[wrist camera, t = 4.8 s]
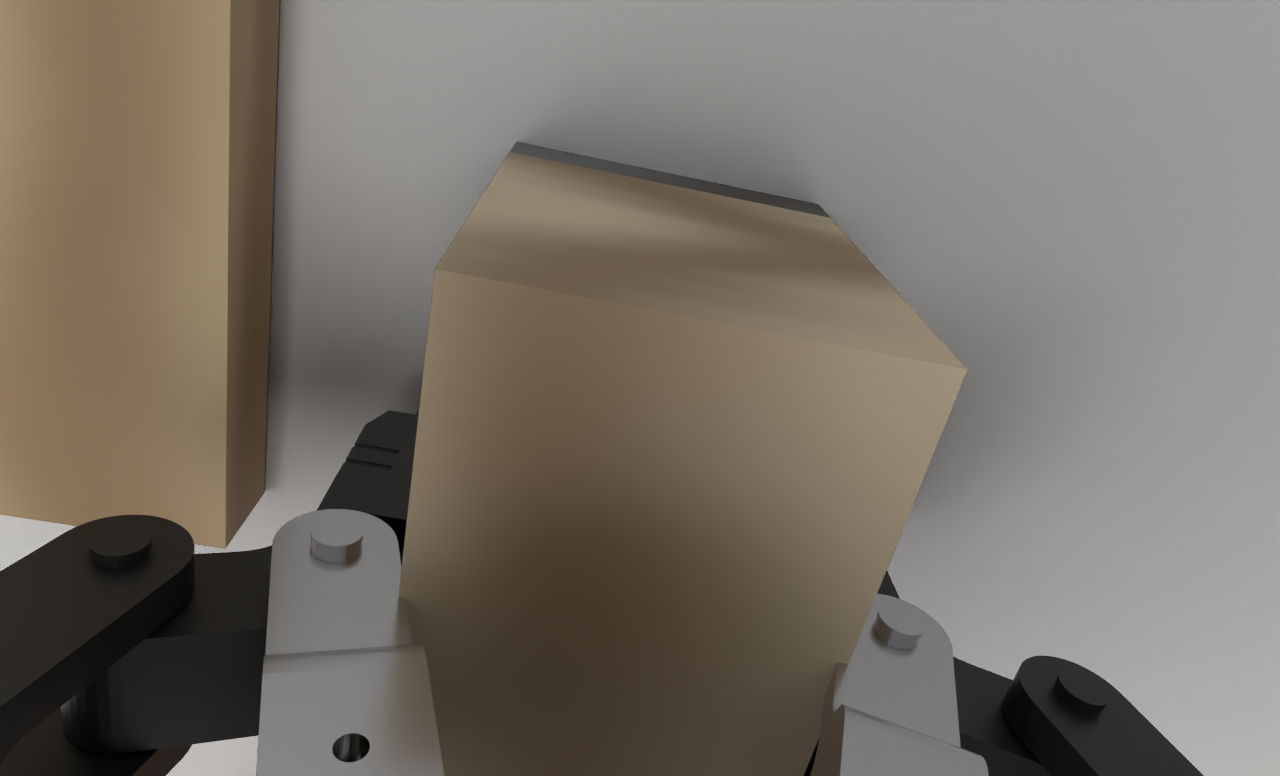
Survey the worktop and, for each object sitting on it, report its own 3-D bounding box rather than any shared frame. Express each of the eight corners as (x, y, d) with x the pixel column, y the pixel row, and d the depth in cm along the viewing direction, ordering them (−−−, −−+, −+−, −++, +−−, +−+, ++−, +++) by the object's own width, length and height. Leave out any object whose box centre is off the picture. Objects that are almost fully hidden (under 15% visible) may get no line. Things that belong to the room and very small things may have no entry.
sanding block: (818, 204, 13) (967, 370, 7) (682, 663, 16) (713, 998, 11) (516, 141, 12) (434, 269, 7) (446, 629, 16) (357, 961, 11)
